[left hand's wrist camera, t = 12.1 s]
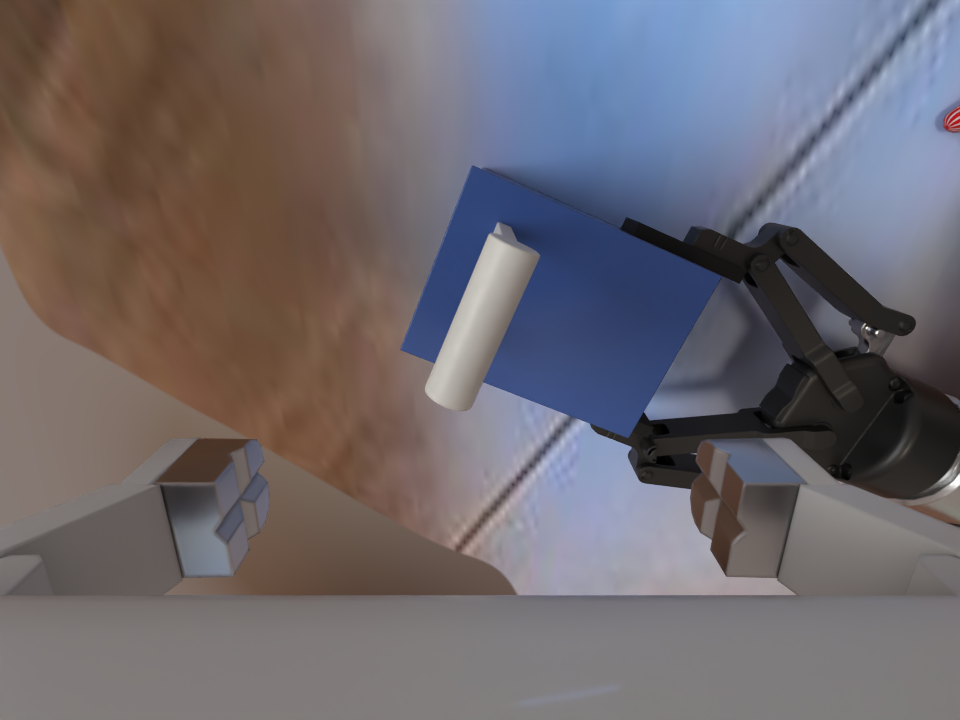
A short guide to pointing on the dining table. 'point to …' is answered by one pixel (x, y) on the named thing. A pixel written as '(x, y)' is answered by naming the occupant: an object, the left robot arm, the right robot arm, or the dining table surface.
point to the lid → (551, 308)
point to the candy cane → (952, 120)
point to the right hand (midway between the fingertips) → (587, 310)
